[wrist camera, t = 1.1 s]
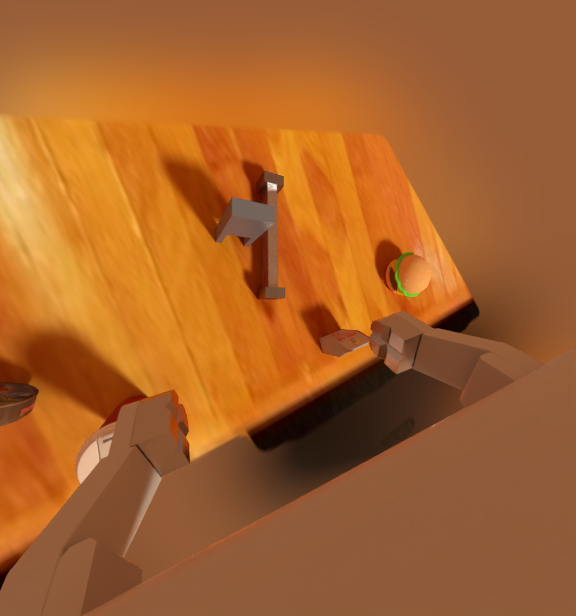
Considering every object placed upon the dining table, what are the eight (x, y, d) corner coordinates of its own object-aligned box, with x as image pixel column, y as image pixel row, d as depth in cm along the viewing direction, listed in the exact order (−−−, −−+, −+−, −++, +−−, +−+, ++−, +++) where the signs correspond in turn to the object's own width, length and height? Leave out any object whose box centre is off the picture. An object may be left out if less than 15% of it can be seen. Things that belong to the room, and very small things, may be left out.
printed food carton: (344, 343, 57) (376, 348, 48) (322, 353, 54) (352, 360, 45) (341, 329, 57) (372, 331, 48) (319, 337, 54) (348, 342, 45)
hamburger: (377, 260, 63) (405, 252, 55) (405, 253, 68) (434, 245, 61) (386, 302, 64) (415, 301, 56) (413, 292, 70) (443, 289, 62)
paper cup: (98, 401, 35) (58, 448, 23) (154, 381, 39) (147, 412, 26) (115, 448, 36) (85, 518, 23) (168, 424, 39) (167, 474, 27)
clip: (215, 242, 44) (232, 215, 32) (215, 228, 44) (231, 196, 32) (248, 246, 47) (274, 223, 35) (248, 233, 47) (274, 206, 35)
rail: (275, 299, 49) (285, 298, 45) (257, 299, 47) (265, 297, 43) (274, 187, 50) (283, 176, 46) (256, 183, 48) (264, 170, 44)
